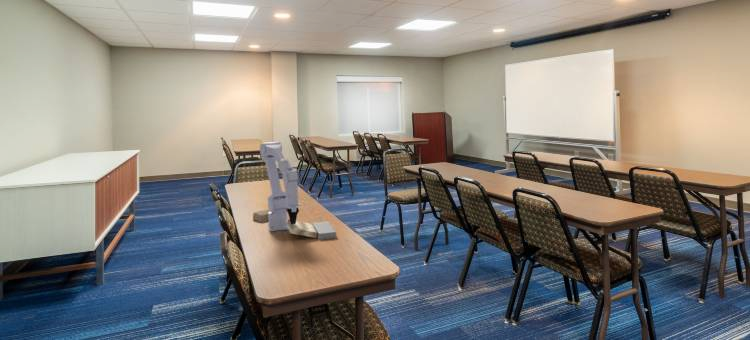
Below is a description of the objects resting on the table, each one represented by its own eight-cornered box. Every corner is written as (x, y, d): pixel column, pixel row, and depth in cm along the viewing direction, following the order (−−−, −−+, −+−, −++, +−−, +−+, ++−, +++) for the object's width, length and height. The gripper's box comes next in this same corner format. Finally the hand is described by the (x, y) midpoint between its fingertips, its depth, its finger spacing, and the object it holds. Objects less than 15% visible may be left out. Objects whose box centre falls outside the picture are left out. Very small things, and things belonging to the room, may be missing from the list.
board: (319, 239, 197) (318, 233, 196) (312, 228, 216) (312, 222, 215) (336, 237, 199) (335, 231, 199) (328, 226, 218) (327, 221, 218)
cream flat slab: (290, 233, 194) (291, 227, 194) (287, 224, 210) (288, 219, 209) (315, 237, 198) (317, 232, 198) (310, 228, 213) (312, 223, 213)
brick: (261, 222, 229) (260, 214, 228) (252, 220, 234) (251, 211, 234) (286, 216, 241) (285, 208, 240) (277, 214, 247) (277, 206, 246)
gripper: (302, 197, 195) (303, 226, 197) (298, 191, 208) (299, 219, 210) (286, 198, 193) (288, 228, 195) (283, 193, 206) (285, 220, 208)
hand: (293, 223), depth 202 cm, fingers closed, pressing on cream flat slab
